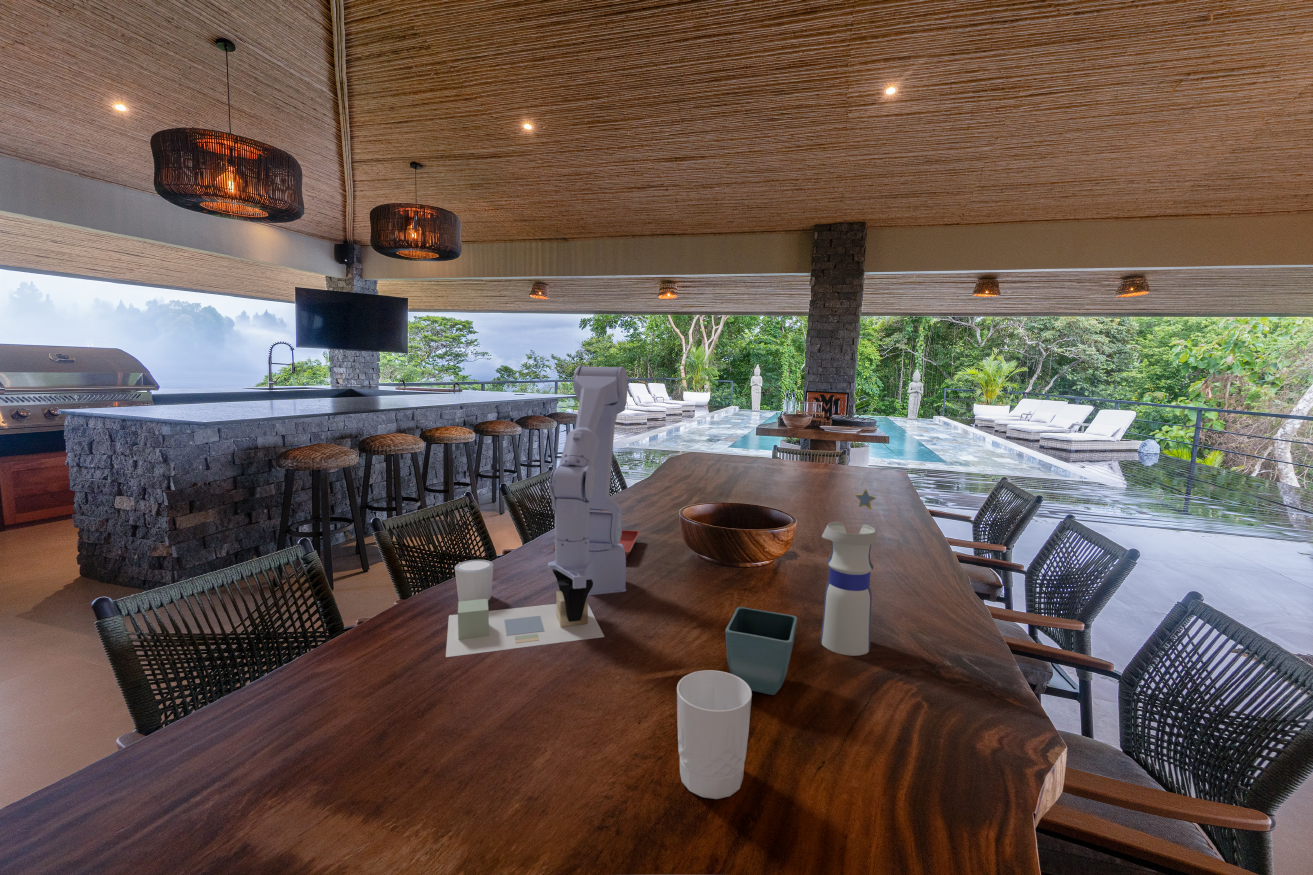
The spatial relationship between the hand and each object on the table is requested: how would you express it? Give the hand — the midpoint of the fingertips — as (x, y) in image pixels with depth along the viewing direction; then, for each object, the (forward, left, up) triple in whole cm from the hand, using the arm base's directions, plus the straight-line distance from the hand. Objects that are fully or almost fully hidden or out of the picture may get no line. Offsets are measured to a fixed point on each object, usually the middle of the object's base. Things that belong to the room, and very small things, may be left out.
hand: (571, 613), depth 97 cm
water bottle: (-41, +19, -2) cm, 45 cm away
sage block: (+16, 0, -1) cm, 16 cm away
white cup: (-8, +41, -2) cm, 42 cm away
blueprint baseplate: (+8, 0, -2) cm, 8 cm away
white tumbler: (+16, -14, -2) cm, 21 cm away
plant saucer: (-13, -38, -2) cm, 40 cm away
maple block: (0, 0, -1) cm, 1 cm away
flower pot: (-22, +26, -2) cm, 34 cm away
